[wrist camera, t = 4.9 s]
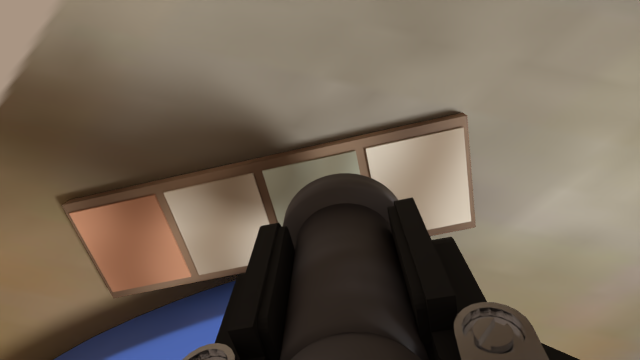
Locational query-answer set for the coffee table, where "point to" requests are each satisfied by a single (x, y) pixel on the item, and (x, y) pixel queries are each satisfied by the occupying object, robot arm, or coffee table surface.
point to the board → (263, 203)
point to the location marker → (161, 330)
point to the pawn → (346, 276)
